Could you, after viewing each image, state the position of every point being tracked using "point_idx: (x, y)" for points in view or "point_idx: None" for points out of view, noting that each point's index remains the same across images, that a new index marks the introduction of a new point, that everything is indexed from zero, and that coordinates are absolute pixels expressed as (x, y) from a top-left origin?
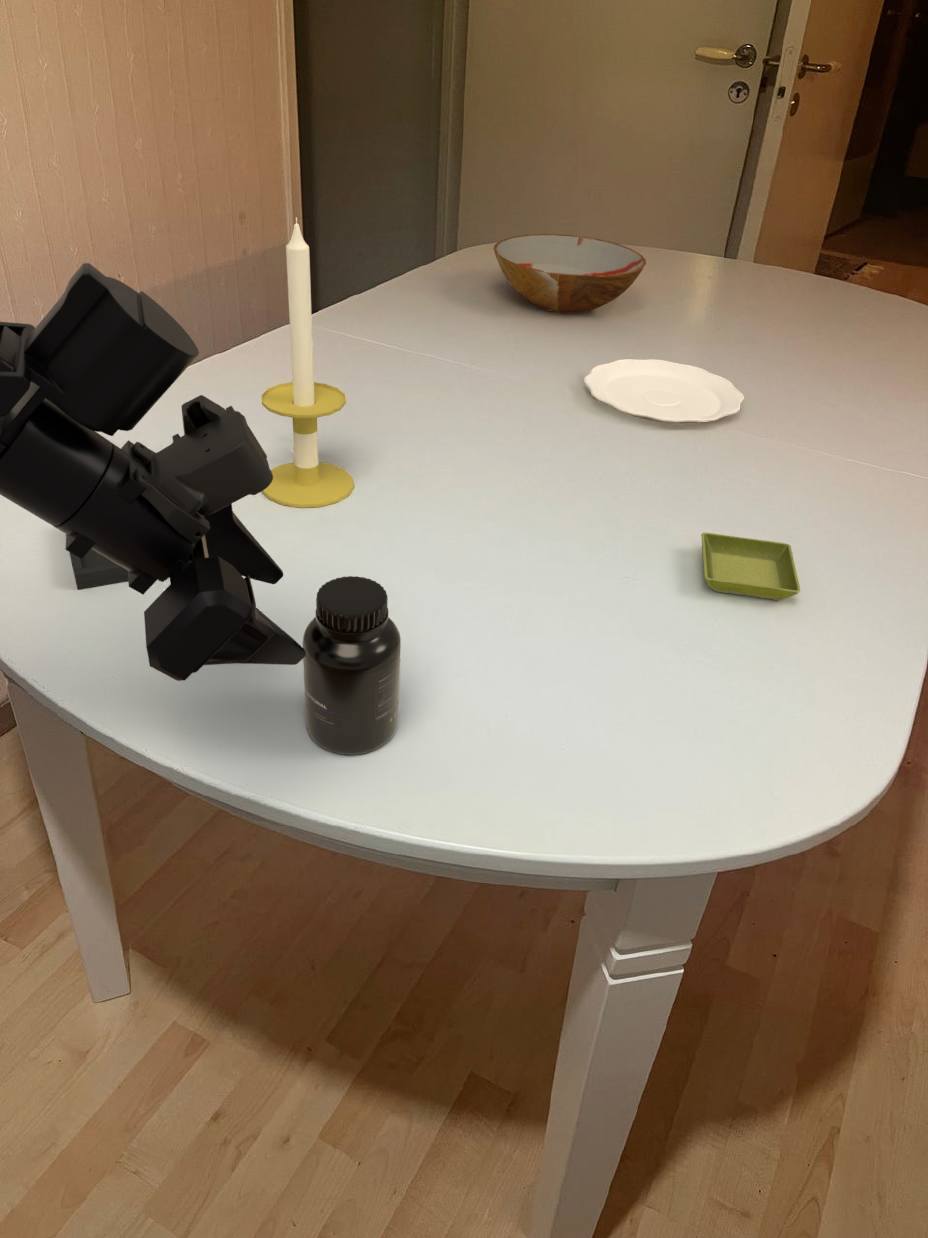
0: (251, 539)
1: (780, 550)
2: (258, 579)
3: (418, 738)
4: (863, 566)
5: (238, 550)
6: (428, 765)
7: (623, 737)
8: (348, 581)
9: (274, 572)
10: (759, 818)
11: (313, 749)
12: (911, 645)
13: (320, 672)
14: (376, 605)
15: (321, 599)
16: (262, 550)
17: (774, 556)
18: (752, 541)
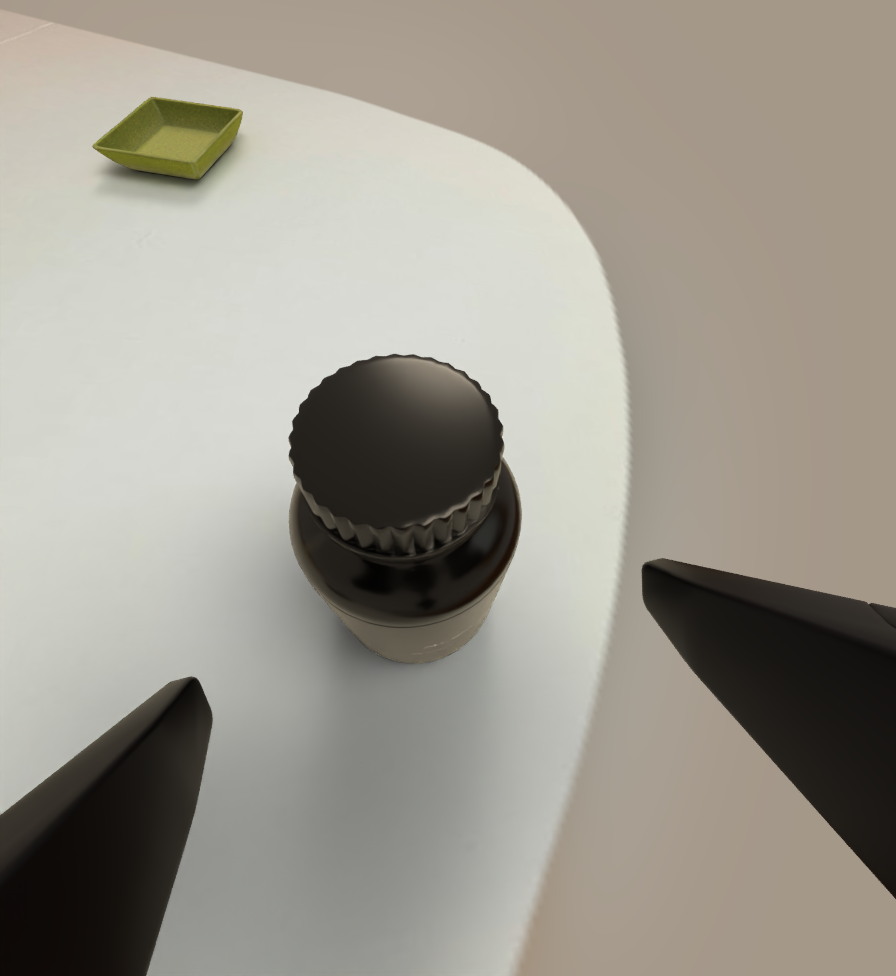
0: (11, 860)
1: (154, 110)
2: (199, 787)
3: None
4: (194, 86)
5: (58, 949)
6: None
7: (443, 288)
8: (322, 440)
9: (187, 712)
10: (549, 220)
11: (472, 648)
12: (323, 93)
13: (500, 581)
14: (445, 375)
15: (418, 513)
16: (85, 774)
17: (159, 121)
18: (131, 118)
